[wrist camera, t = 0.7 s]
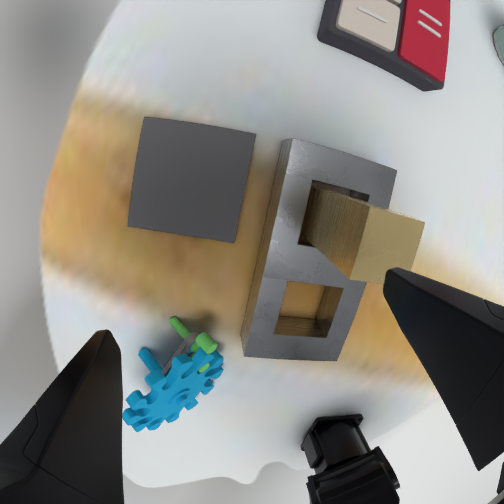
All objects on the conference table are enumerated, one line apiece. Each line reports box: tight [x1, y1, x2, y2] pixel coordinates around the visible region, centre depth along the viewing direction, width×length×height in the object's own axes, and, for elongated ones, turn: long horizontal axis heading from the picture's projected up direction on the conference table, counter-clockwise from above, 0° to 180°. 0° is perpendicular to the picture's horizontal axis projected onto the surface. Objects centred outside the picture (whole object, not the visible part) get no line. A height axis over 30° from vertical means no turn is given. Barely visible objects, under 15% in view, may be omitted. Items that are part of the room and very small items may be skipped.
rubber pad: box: [128, 117, 256, 243], centre depth 20 cm, size 8×8×1 cm
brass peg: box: [300, 186, 425, 284], centre depth 18 cm, size 3×3×10 cm
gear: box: [122, 317, 224, 432], centre depth 22 cm, size 11×6×10 cm
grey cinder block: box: [240, 138, 397, 361], centre depth 22 cm, size 8×16×3 cm, turn 168°
